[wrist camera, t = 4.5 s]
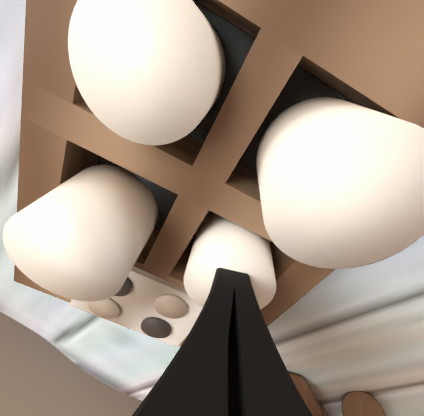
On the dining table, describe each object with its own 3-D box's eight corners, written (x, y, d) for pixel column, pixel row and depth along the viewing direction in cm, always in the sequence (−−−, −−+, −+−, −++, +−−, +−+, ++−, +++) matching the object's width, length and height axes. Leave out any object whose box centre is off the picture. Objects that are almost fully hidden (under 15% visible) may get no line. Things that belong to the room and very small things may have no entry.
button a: (245, 41, 9) (246, 28, 6) (198, 139, 11) (180, 167, 8) (142, -24, 8) (81, -78, 5) (114, 93, 10) (59, 104, 7)
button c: (401, 135, 8) (500, 178, 5) (319, 220, 10) (352, 288, 7) (302, 71, 7) (343, 74, 4) (236, 176, 9) (232, 229, 6)
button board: (500, 43, 8) (645, 30, 5) (226, 321, 18) (223, 371, 15) (127, -248, 6) (20, -539, 3) (50, 247, 16) (6, 287, 13)
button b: (171, 192, 10) (140, 246, 7) (142, 253, 12) (109, 314, 9) (79, 147, 9) (2, 185, 6) (65, 218, 11) (2, 273, 8)
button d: (283, 227, 12) (296, 277, 9) (244, 272, 14) (244, 325, 11) (217, 193, 12) (208, 235, 9) (185, 245, 14) (170, 294, 11)
